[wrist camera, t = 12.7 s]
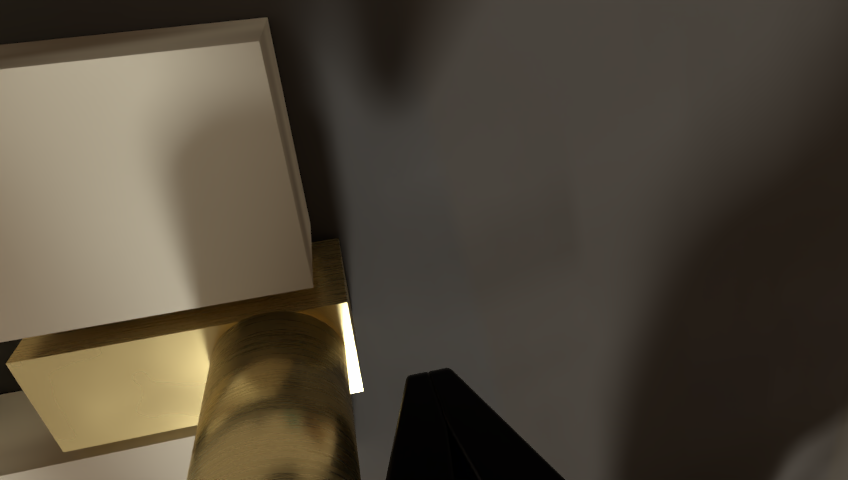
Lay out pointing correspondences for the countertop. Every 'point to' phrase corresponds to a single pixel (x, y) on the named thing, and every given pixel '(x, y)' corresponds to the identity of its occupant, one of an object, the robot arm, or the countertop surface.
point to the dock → (139, 205)
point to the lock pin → (214, 381)
